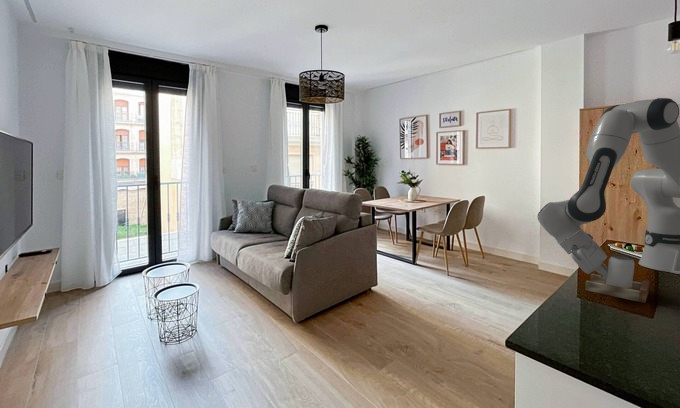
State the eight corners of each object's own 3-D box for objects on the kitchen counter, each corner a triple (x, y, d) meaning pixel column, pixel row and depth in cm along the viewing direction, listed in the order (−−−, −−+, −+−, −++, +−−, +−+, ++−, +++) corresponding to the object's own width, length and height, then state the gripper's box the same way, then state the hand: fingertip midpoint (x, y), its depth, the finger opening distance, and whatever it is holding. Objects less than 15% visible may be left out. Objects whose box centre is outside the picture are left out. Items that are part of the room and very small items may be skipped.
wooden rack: (585, 290, 111) (585, 278, 111) (591, 281, 119) (592, 270, 118) (645, 303, 101) (646, 290, 100) (648, 292, 108) (649, 281, 107)
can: (634, 297, 105) (639, 261, 103) (609, 294, 107) (613, 258, 106) (625, 289, 111) (630, 255, 109) (602, 287, 113) (606, 253, 111)
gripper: (577, 243, 107) (613, 280, 101) (591, 233, 121) (623, 265, 115) (560, 254, 111) (594, 290, 105) (575, 243, 125) (605, 274, 119)
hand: (609, 277), depth 110 cm, fingers closed, pressing on can
